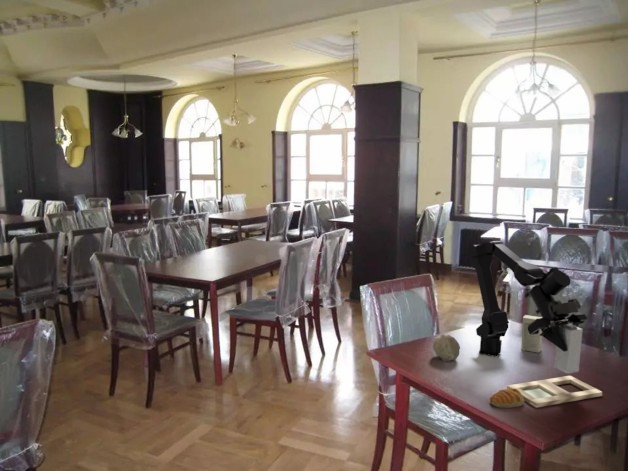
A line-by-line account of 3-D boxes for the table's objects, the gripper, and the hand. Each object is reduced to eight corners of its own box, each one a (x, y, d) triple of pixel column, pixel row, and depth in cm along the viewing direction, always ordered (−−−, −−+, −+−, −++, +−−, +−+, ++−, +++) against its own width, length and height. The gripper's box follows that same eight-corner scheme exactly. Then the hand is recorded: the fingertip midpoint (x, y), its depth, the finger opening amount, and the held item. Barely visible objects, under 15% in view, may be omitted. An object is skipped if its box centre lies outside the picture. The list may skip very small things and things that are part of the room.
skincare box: (541, 349, 187) (543, 317, 185) (539, 353, 183) (541, 320, 182) (522, 346, 190) (524, 314, 189) (520, 349, 187) (522, 317, 185)
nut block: (554, 367, 154) (558, 323, 152) (565, 365, 155) (569, 322, 153) (566, 373, 150) (571, 328, 147) (578, 371, 151) (582, 327, 149)
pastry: (500, 412, 141) (501, 399, 140) (483, 401, 147) (483, 389, 146) (526, 405, 145) (527, 393, 144) (508, 395, 151) (508, 383, 150)
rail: (535, 407, 143) (536, 403, 143) (506, 389, 154) (507, 385, 154) (602, 395, 151) (602, 391, 151) (569, 379, 162) (570, 375, 162)
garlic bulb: (457, 368, 175) (467, 345, 171) (434, 365, 174) (444, 342, 170) (448, 350, 184) (458, 328, 180) (426, 347, 182) (435, 325, 178)
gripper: (538, 292, 149) (565, 341, 141) (585, 287, 156) (614, 333, 147) (516, 310, 157) (541, 358, 149) (562, 305, 164) (588, 350, 156)
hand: (572, 349), depth 150 cm, fingers closed on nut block, 5 cm apart
